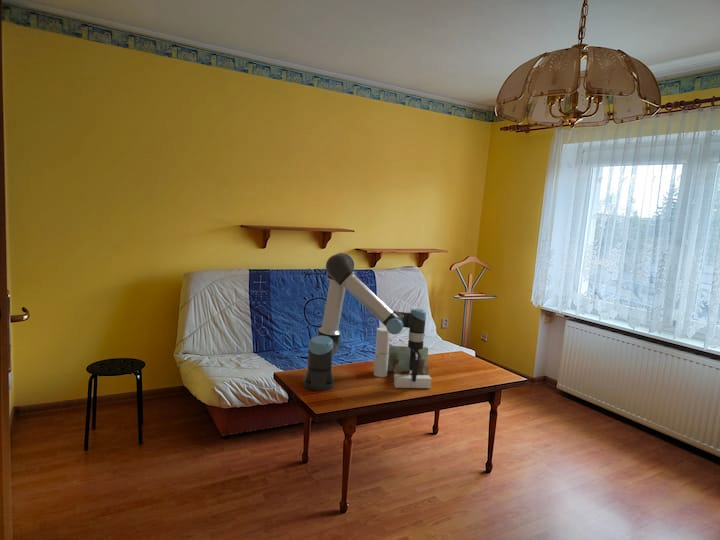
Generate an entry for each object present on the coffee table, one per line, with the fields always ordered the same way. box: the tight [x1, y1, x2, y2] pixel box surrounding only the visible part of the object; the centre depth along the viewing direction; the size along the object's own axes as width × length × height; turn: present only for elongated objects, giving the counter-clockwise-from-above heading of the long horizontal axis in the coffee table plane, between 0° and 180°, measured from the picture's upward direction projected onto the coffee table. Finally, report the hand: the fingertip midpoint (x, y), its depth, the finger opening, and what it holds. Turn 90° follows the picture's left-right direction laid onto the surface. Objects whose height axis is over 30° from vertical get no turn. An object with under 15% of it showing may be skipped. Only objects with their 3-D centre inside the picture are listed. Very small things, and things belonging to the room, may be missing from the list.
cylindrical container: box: [373, 327, 391, 378], centre depth 247 cm, size 7×7×25 cm
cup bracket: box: [387, 345, 430, 375], centre depth 247 cm, size 22×19×14 cm
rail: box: [393, 373, 433, 389], centre depth 234 cm, size 18×5×5 cm, turn 96°
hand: (412, 384), depth 234 cm, fingers closed on rail, 5 cm apart
